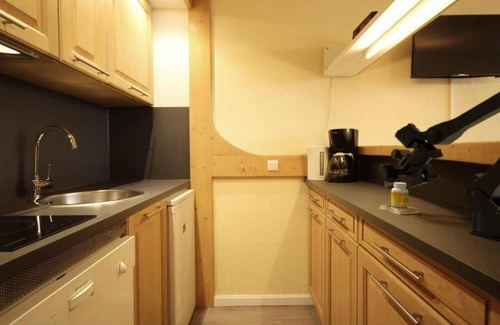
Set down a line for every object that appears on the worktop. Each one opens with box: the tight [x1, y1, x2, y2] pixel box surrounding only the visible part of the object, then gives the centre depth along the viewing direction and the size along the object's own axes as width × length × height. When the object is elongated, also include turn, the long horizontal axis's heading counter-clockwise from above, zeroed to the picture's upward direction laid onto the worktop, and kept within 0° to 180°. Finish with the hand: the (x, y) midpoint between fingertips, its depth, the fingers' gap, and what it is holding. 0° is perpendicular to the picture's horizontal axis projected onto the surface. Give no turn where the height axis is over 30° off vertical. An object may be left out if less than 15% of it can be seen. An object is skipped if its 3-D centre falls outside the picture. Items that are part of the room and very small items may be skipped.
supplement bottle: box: [390, 181, 409, 210], centre depth 96 cm, size 5×5×10 cm
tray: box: [379, 203, 420, 216], centre depth 96 cm, size 9×9×1 cm
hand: (397, 187), depth 97 cm, fingers open, 9 cm apart
